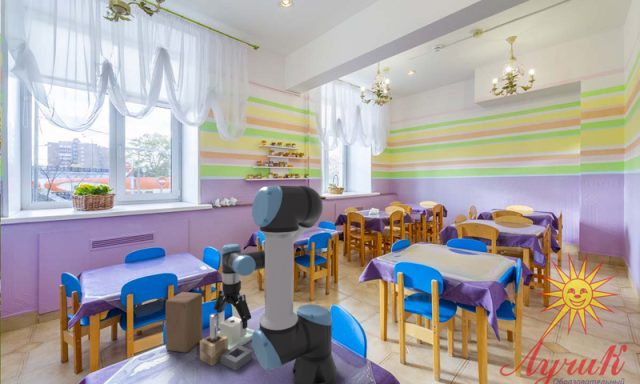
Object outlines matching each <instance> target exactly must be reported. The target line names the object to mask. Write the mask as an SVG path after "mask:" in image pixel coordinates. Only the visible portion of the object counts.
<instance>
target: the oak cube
mask: <svg viewBox="0 0 640 384" xmlns="http://www.w3.org/2000/svg"><path fill="white" fill-rule="evenodd" d="M226 351H228V337H226V336H224V335H221V334H219V333H218V341H216V342H214V343H211V342H210V335H208V336H205V338H202V340H200V342H199V360H200V361H202V362H204V363H206V364H208V365H210V366H214V365H216V364H217V363H219V362H221V355H222V354H223V353H225V352H226Z"/></svg>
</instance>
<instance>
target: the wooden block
mask: <svg viewBox="0 0 640 384" xmlns="http://www.w3.org/2000/svg"><path fill="white" fill-rule="evenodd" d="M202 339H203V294H202V293H199V292H198V293H197V292H188V291H181V292H179V293H178V294H175V295H174V296H171V297H170V298H169V299H167V300H166V301H165V349H166V350H167V351H172V352H180V353H188V352H190V351H191V350H192V349H193V348H194V347H195V346H196V345H198V344H200V340H202Z"/></svg>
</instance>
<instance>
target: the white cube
mask: <svg viewBox="0 0 640 384" xmlns="http://www.w3.org/2000/svg"><path fill="white" fill-rule="evenodd" d="M240 321H241V318H240V317H237V316H234V315H233V316H231V317H228V318H226V319H224V321H223V322H221V323H220V328H219V331H220V334H221V335H224V336H226V337H228V343H230V344H233V343H235V342H236V341H238V340H239V339H241V338H243V337H244V336H243V337H240Z"/></svg>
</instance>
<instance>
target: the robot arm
mask: <svg viewBox="0 0 640 384" xmlns="http://www.w3.org/2000/svg"><path fill="white" fill-rule="evenodd" d="M323 207H324V203H323V201H322V198H321V196H320V194H319V192H317V190H316V189H314V188H312V187H310V186H306V185H268V186H263V187H261V188H260V189H259V190H258V191H257V192H256V194H255V196H254V198H253V201H252V207H251V209H252V212H251V215H252V218H253V219H252V220H253V222H254V225H256V226H257V227H259V232H260V233H261V234H262V235H264V249H261V250H256V251H250V252H249V251H248V252H244V253H243V252H242V249H241V248H242V247H241V245H240V244H238V243H229V244H225V245H223V246H222V248H221V262H222V263H221V272H222V273H221V281H222V283H221V285H222V287H221V288H222V289H220V290H218V296H217V298H216V301H215V303H214V306H213V310H214V311H216V312H217V314H218V329H220V323H221V322H223V321H225V308H226V306H227V304H230V305H232V306H233V307H234V308H235V310H236V312H237V314H238V316H239V318H240V319H241V321H240V337H243V336H245V335H246V334H247V328H248V321H249V320H250V319H252V314H251V312H250V308H249V306H248V303H247V298H246V294H242V295H241V294H240V291H241V289H242V281H241V279H242V277H243V276H244V277H247V276H249V275H251V274H253V272H256V271H259V270H264V314H262V316H260V317H259V328H256V329H255V330H254V332H253V334H252V340H251V342H252V348H253V352H254V354H255V356H256V359H257V361H258V363H259V364H260V366H261V367H262V368H263V369H264V370H265V371H273V370H275V369H277V368H282V366H284V365H286V364H288V363H290V362H292V361H294V363H293V365H292V370H291V372H292V373H291V377H292V382H293V384H335V383H336V381H337V377H338V374H337V373H338V371H337V366H336V362H335V359H334V357H333V353H332V348H333V347H332V346H333V345H332V343H333V342H332V341H333V340H332V331H333V328H332V327H333V326H332V325H333V322H332V313H331V311H330V310H329V309H328V308H326V306H325V307H324V306H321V305H319V304H309V303H308V304H303V305H300V306H298V307H297V311H296V312H295V311H294V244H295V243H296V242H297V241H298V240H299V238H300V237H301V236H302V235H303V234H304V233H305V231H306V230H307V229H311V228H313V227H314V226H315V225H316V224H317V222H318V221H319V219H320V218H321V216H322V213H323V209H324V208H323Z"/></svg>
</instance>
